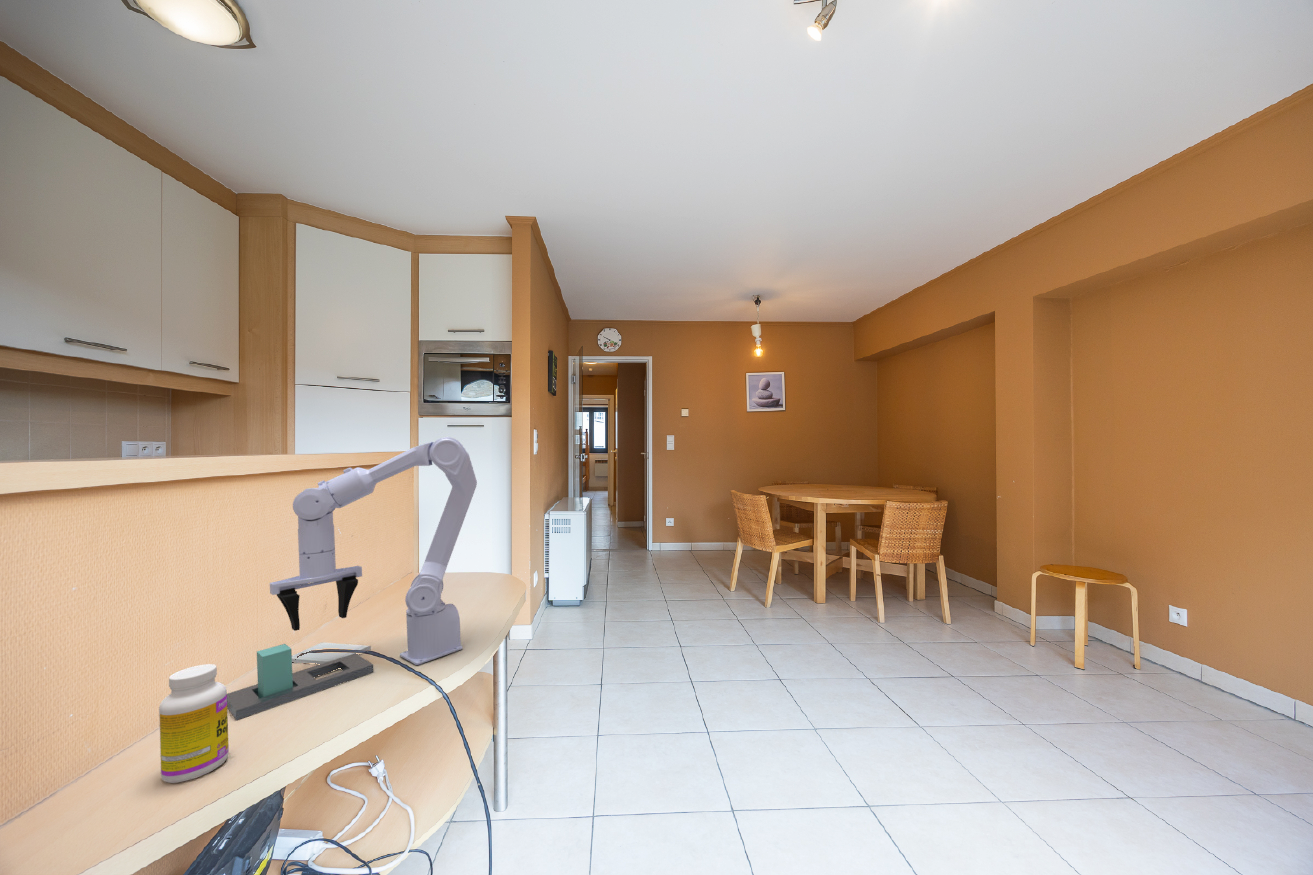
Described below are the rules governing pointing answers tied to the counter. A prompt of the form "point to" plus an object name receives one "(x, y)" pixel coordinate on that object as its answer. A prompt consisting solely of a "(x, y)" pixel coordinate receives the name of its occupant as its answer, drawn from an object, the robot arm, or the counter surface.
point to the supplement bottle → (193, 724)
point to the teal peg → (274, 670)
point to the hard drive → (326, 657)
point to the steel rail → (298, 685)
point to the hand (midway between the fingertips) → (319, 622)
